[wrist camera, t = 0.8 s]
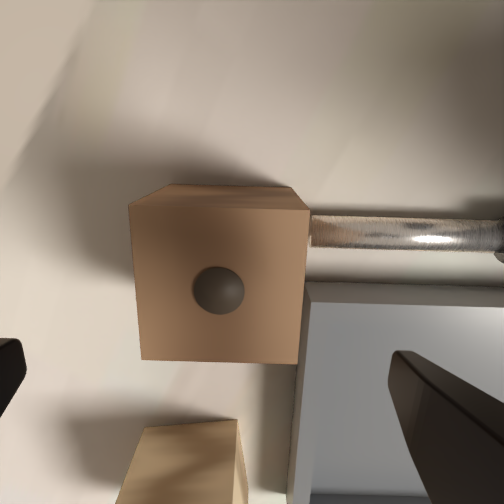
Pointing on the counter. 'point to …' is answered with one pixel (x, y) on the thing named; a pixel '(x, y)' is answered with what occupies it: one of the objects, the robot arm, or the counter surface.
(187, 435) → the block
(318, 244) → the rod
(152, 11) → the counter surface
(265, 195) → the block
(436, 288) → the tray
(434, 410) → the robot arm
